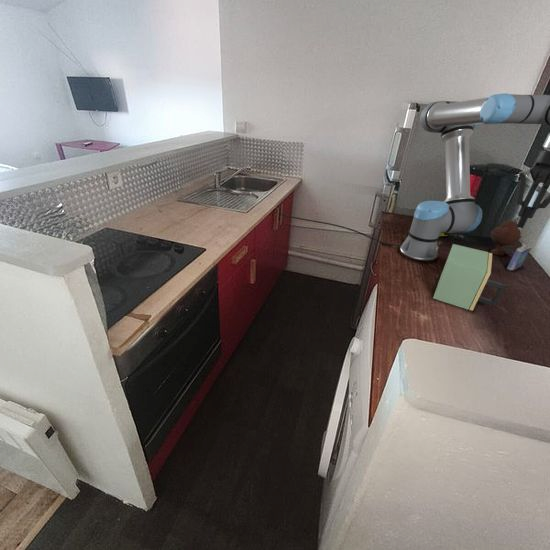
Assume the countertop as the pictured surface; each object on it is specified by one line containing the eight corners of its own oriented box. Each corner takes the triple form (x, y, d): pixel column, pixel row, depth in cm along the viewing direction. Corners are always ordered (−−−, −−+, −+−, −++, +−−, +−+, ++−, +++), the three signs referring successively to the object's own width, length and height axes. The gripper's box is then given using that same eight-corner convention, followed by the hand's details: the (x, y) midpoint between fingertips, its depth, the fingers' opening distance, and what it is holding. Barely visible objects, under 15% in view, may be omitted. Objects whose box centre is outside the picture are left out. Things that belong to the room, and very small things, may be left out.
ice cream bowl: (478, 247, 139) (491, 217, 131) (499, 247, 140) (514, 217, 132) (494, 258, 130) (509, 226, 122) (517, 257, 131) (533, 226, 123)
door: (492, 293, 106) (510, 257, 98) (490, 316, 95) (511, 278, 87) (472, 287, 109) (489, 252, 101) (469, 309, 98) (487, 272, 90)
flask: (511, 271, 120) (523, 248, 115) (504, 268, 122) (515, 245, 117) (522, 266, 124) (534, 243, 119) (514, 263, 127) (526, 240, 121)
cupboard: (471, 287, 109) (488, 252, 101) (468, 309, 98) (486, 271, 90) (439, 278, 114) (453, 243, 106) (432, 298, 103) (447, 261, 95)
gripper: (530, 149, 85) (496, 225, 97) (590, 154, 79) (545, 235, 91) (529, 146, 90) (496, 218, 103) (584, 151, 84) (543, 227, 97)
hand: (519, 226), depth 97 cm, fingers closed
